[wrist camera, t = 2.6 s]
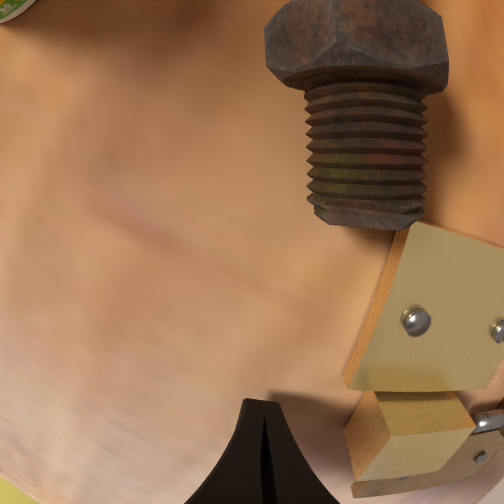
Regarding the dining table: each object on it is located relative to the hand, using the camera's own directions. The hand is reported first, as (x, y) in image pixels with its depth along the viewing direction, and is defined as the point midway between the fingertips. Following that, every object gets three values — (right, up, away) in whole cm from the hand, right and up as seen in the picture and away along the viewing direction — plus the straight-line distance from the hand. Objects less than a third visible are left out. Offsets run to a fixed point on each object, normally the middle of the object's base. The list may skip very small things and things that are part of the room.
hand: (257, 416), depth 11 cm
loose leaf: (+8, +2, 0) cm, 8 cm away
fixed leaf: (+13, -5, +2) cm, 14 cm away
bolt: (+2, +15, -3) cm, 16 cm away
